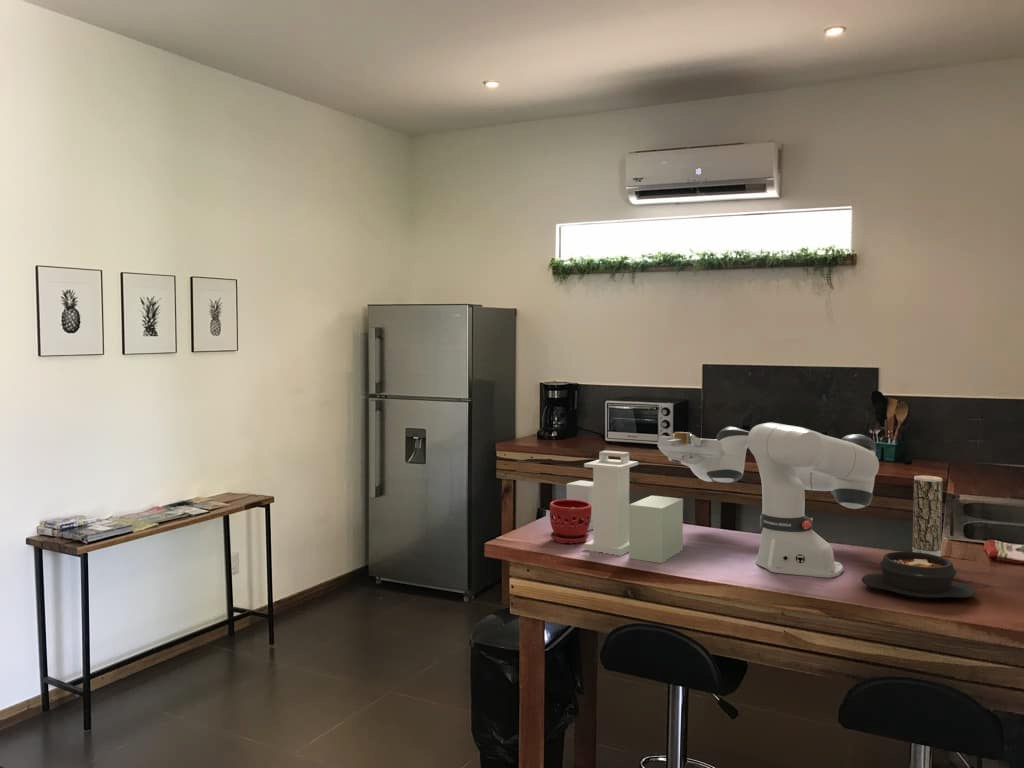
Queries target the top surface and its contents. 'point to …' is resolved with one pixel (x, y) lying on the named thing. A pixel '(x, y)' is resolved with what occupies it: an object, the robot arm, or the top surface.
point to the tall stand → (610, 503)
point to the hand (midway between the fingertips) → (682, 436)
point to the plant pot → (570, 520)
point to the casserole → (918, 576)
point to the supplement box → (581, 494)
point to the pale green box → (655, 528)
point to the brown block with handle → (679, 439)
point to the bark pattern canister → (927, 515)
